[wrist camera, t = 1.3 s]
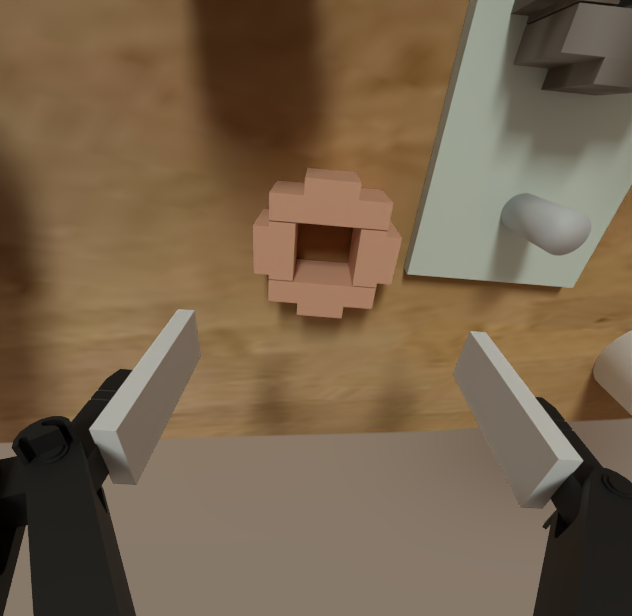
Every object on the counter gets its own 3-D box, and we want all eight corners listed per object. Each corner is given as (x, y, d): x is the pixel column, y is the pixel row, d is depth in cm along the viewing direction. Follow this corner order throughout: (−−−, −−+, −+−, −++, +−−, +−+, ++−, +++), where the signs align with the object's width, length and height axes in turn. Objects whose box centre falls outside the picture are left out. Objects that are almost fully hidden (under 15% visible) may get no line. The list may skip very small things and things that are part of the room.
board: (403, 267, 31) (425, 307, 25) (518, -195, 17) (638, -384, 11) (562, 280, 31) (624, 323, 25) (800, -158, 17) (1077, -315, 11)
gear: (263, 285, 32) (254, 311, 28) (263, 163, 26) (251, 172, 22) (374, 294, 33) (382, 321, 28) (398, 176, 27) (413, 187, 22)
